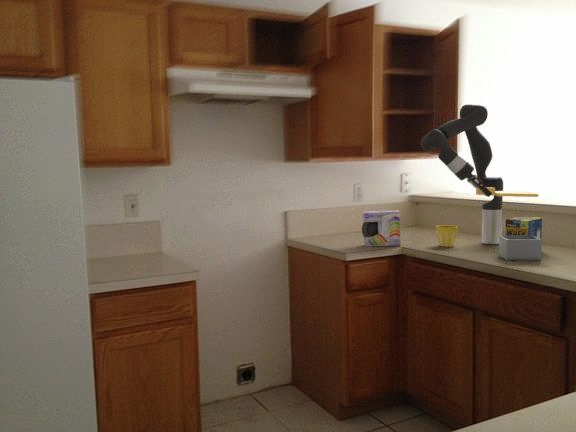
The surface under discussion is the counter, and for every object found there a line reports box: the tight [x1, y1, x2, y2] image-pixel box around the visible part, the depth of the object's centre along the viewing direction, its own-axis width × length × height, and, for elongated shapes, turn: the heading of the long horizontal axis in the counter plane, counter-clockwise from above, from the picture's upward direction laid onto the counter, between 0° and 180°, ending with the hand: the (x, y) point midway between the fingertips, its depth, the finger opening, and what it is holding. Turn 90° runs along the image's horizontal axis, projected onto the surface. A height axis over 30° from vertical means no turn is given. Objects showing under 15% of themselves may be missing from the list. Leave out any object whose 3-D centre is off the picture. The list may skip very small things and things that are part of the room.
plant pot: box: [435, 224, 459, 248], centre depth 273 cm, size 10×10×10 cm
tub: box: [498, 235, 543, 261], centre depth 236 cm, size 12×14×9 cm
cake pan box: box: [361, 209, 402, 247], centre depth 278 cm, size 19×5×18 cm, turn 82°
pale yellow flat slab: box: [475, 187, 539, 198], centre depth 234 cm, size 14×23×3 cm, turn 83°
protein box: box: [504, 215, 543, 239], centre depth 250 cm, size 10×15×16 cm
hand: (488, 194), depth 235 cm, fingers closed on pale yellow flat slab, 4 cm apart
